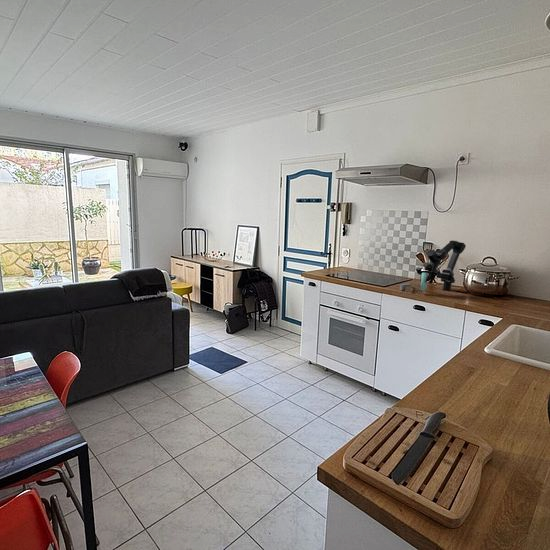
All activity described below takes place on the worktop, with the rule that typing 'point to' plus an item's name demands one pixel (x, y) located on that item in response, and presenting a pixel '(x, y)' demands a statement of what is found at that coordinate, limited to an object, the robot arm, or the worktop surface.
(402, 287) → the backstop
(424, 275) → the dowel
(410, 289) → the block
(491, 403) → the worktop surface
